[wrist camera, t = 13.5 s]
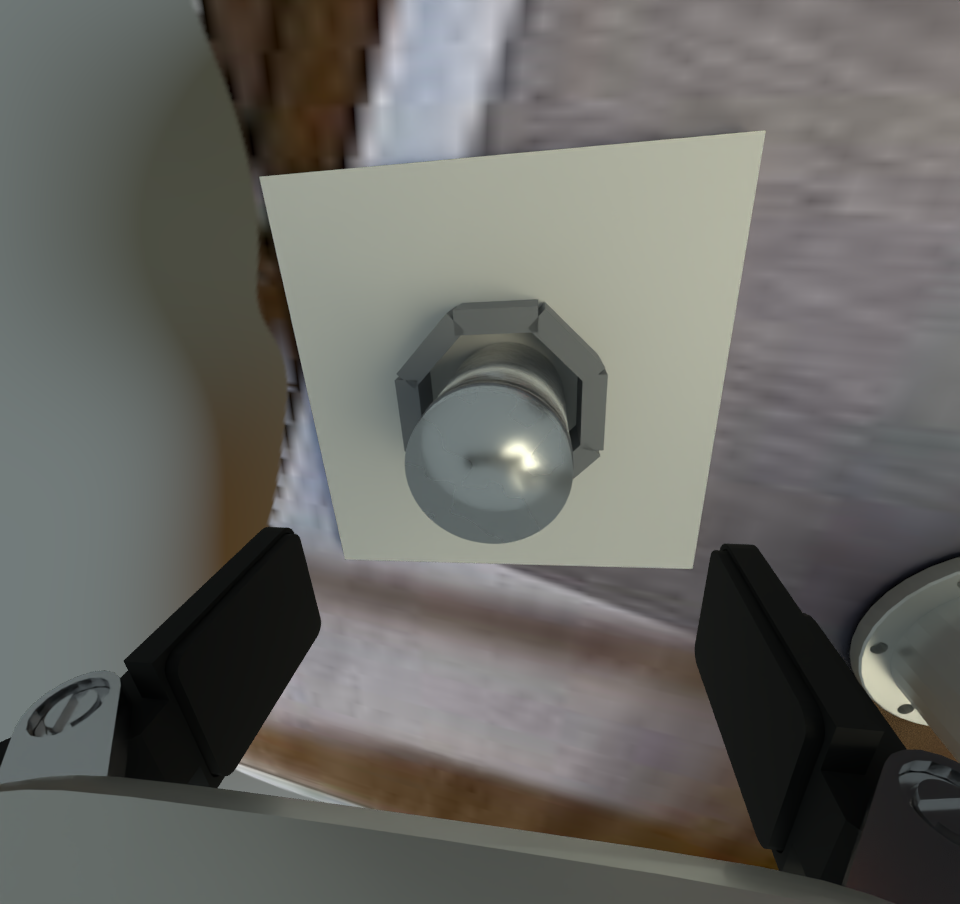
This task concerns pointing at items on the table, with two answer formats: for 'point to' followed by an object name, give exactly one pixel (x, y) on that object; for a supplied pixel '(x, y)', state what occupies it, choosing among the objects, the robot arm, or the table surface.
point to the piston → (494, 447)
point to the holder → (524, 328)
